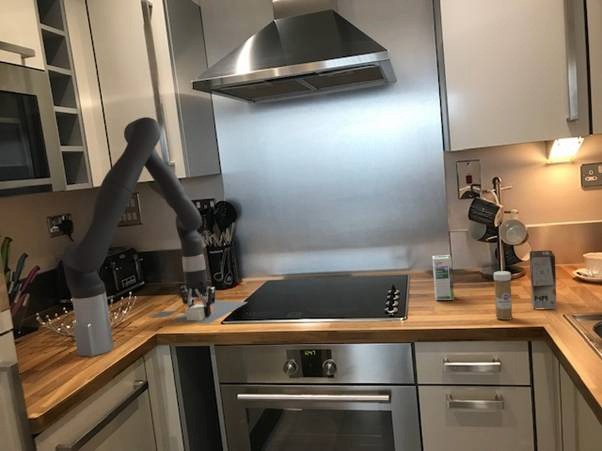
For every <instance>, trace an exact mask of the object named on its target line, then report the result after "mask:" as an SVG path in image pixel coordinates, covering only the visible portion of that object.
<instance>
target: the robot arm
mask: <svg viewBox="0 0 602 451" xmlns="http://www.w3.org/2000/svg"><path fill="white" fill-rule="evenodd" d="M161 131H162V130H161V127H160V124H159V122H158V121H157V120H156V119H155V118H152V117H149V116H148V117H145V116H144V117H140V118H137V119H135V120H133V121H131V122H130V123H128V124H127V125H126V126H125V128H124V130H123V135H124V136H123V137H124V140H125V142H126V143H127V144H126V146H125V148H124V150H123V153H122V154H121V156H120V157H119V158H118V159H117V161H116V162H115V163H114V164H113V165H112V167H111V168H110V169H109V171H108V172H107V173H106V175H105V176H104V178H103V179H102V182H101V184H100V186H99V187H98V190H97V192H96V195H95V197H94V203H93V204H94V205H93V213H92V220H91V223H90V225H89V227H88V229H87V231H86V232H85V235H84V236H83V238H82V240H81V239H79V240H73V241H71V242H69V243H68V244H67V245H66V246H65V247H64V249H63V252H62V265H63V271H64V275H65V280H66V284H67V286H68V287H67V288H68V290H69V291H70V293H71V301H72V306H73V314H74V319H75V323H73V325H72V327H73V332H74V339H75V344H76V346H75V347H76V351H77V356H81V357H91V358H92V357H96V356H100V355H103V354H106V353H109V352H110V351H112V350H113V349H114V346H115V345H114V340H113V339H114V338H113V334H112V333H113V332H112V325H111V320H110V318H111V317H110V312H109V306H108V300H107V298H108V297H107V292H106V285H105V283H104V281H103V280H102V279H101V278H100V275H99V274H98V270H99V269H100V268H101V267H102V265H103V263H104V261H105V259H106V257H107V255H108V251H109V247H110V245H111V243H112V239H113V237H114V234H115V231H116V229H117V226H118V225H119V223H120V221H121V219H122V216H123V214H124V213H125V210H126V208H127V206H128V204H129V203H130V200H131V198H132V196H133V194H134V191H135V189H136V186H137V185H138V184H137V183H138V181H139V180H140V177H141V175H142V173H143V170H144V168H145V169H146V171H147V172H148V173H149V174H150V176H151V178H152V179H153V182H155V185H156V186H157V188H158V189H159V192H160V193H161V195H162V196H163V199H164V201H165V202H166V203H167V205H168V207H170V208H171V209H173V211H174V212H175V214H176V216H175V227H176V231H177V235H178V238H179V240H180V245H181V246H180V249H181V255H182V257H181V258H182V260H181V261H182V269H183V277H184V283H185V285H182V286H180V287H179V289H178V291H179V293H180V296H181V300H182V304H184V305H187V306H188V308H190V307H192V306H194V305H196V304H195V302H196V298H197V299H199V301H201V303H203V305H204V313H205V317H209V316H210V314H211V309H210V305H211V304H213V303H215V301H216V287H215V286H209V285H208V283H207V281H208V273H207V266H206V260H205V256H204V248H203V241H202V239H201V238H200V237H199V234H198V229H199V228H200V227H201V226H202V221H203V220H202V215H201V214H200V211H199V210H198V208H197V207H196V205H195V204H194V203H193V202H192V200H191V199H190V198H189V197H188V194H187V193H186V190H185V188H184V186H183V185H182V183H181V181H180V179H179V178H178V176H177V175H176V174H175V172H174V171H173V170H172V169H171V168H170V167H169V166H168V165H167V164H166V163H165V162H164V161H163V158H161V156H160V155H159V153H158V151H157V149H156V147H157V145H158V143H159V141H160V139H161V135H162V133H161Z"/></svg>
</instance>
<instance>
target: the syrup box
mask: <svg viewBox="0 0 602 451" xmlns="http://www.w3.org/2000/svg"><path fill="white" fill-rule="evenodd" d="M431 259H432V270H433V284H434V285H433V286H434V287H433V288H434V297H435V301H436V300H454V301H455V295H454V280H453V279H454V278H453V264H452V256H451V255H450V254H446V255H445V254H444V255H432V257H431Z"/></svg>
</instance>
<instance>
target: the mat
mask: <svg viewBox="0 0 602 451" xmlns="http://www.w3.org/2000/svg"><path fill="white" fill-rule="evenodd" d="M247 303H248V301H233V300H232V301H229V300H215V303H213V310H214V313H213V314H212V315H210V316H209V317H206V318H204V319H202V320H200V321H198V320H187V318H186V313H184V314H182V315H180V316H179V317H175V318H173V319H172V320H171V322H179V323H180V322H182V323H194V324H207V325H208V324H210V323H213V322H215V321H217V320H218V319H220V318H222V317H224V316H225V315H228V314H229V313H231V312H234V311H235V310H237V309H239V308H240V307H242V306H244V305H246V304H247Z"/></svg>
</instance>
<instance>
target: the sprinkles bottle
mask: <svg viewBox="0 0 602 451" xmlns="http://www.w3.org/2000/svg"><path fill="white" fill-rule="evenodd" d="M511 279H512V274H511V272H510V271H505V270H504V271H503V270H499V271H495V272H493V281H494V306H495V318H496V317H497V318H499V319H510V318H512V319H513V310H512V309H513V308H512V307H513V305H512V304H513V300H512V287H511V284H512V283H511ZM497 318H496V319H497ZM499 319H498V320H499ZM510 320H511V319H510Z"/></svg>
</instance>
